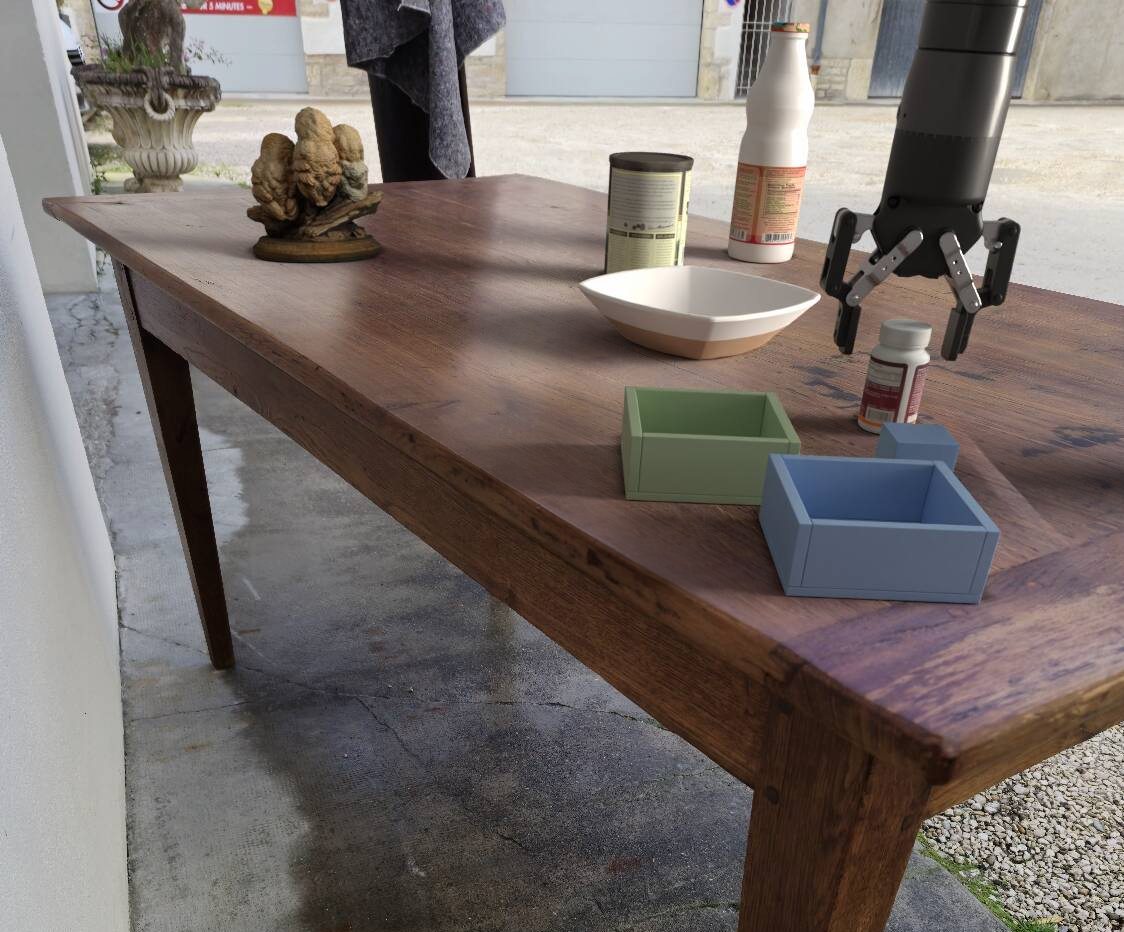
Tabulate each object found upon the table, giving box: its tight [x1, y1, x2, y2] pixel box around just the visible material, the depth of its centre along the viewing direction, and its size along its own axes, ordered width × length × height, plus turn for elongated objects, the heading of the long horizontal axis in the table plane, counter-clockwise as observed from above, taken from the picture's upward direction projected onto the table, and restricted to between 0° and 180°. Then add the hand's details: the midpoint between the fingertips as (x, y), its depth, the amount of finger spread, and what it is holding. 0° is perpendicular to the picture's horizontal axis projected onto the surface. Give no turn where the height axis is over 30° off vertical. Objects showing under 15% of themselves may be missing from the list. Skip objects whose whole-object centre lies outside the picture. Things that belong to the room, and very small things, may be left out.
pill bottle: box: [857, 318, 933, 435], centre depth 86 cm, size 5×5×8 cm
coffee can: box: [603, 151, 695, 275], centre depth 130 cm, size 10×10×14 cm
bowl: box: [577, 264, 821, 360], centre depth 108 cm, size 22×22×5 cm
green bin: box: [620, 385, 802, 506], centre depth 77 cm, size 12×12×5 cm
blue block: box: [874, 422, 961, 474], centre depth 75 cm, size 4×4×4 cm
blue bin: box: [758, 454, 1002, 605], centre depth 65 cm, size 12×12×5 cm
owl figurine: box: [246, 106, 385, 263], centre depth 135 cm, size 18×12×17 cm, turn 112°
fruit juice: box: [727, 21, 816, 264], centre depth 143 cm, size 9×9×28 cm
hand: (896, 355), depth 85 cm, fingers open, 8 cm apart
